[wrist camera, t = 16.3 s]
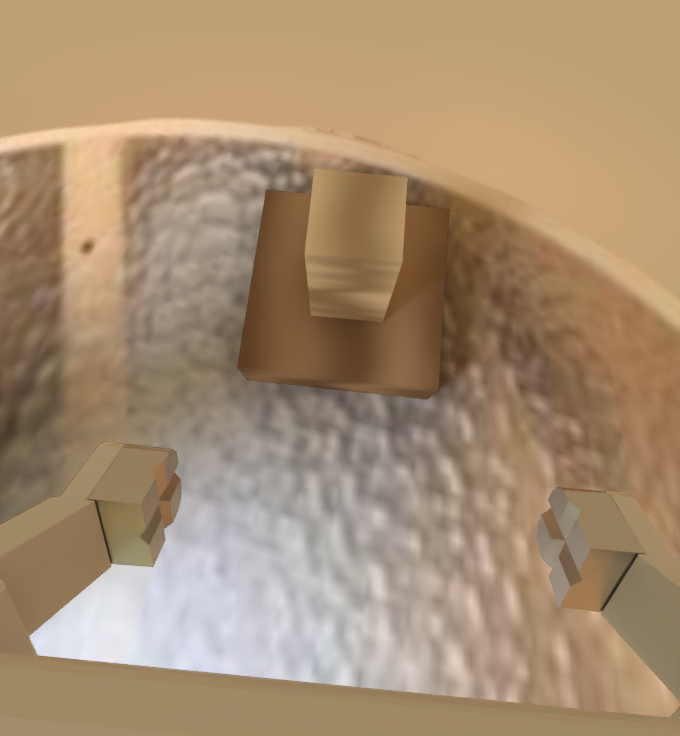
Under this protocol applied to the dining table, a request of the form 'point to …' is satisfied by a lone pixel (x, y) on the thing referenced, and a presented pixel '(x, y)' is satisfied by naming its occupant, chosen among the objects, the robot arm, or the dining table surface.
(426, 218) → the walnut base block
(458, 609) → the dining table surface
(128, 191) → the dining table surface
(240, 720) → the robot arm
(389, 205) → the maple block
